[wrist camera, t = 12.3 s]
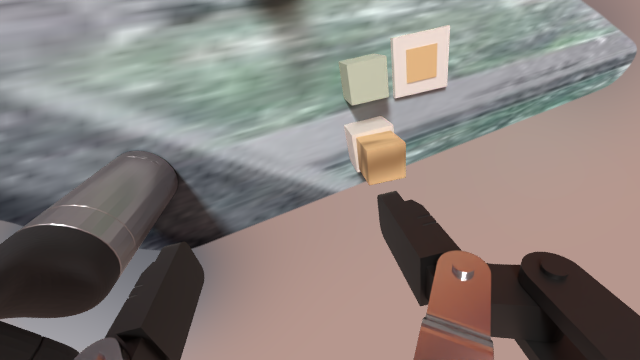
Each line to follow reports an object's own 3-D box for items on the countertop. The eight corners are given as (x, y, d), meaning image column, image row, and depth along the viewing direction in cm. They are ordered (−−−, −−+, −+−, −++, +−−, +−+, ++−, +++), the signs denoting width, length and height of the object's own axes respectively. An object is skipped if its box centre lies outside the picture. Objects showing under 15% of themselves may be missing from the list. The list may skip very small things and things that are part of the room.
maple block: (391, 162, 39) (405, 177, 35) (359, 168, 39) (369, 185, 35) (390, 130, 37) (405, 142, 32) (356, 137, 36) (366, 150, 32)
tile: (443, 85, 40) (447, 86, 39) (393, 97, 39) (395, 98, 39) (446, 25, 36) (450, 25, 35) (390, 38, 36) (393, 38, 35)
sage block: (376, 90, 39) (388, 96, 34) (343, 97, 39) (352, 105, 34) (373, 53, 36) (386, 55, 32) (338, 61, 36) (346, 64, 32)
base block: (384, 150, 44) (396, 162, 39) (349, 158, 44) (357, 172, 39) (380, 115, 41) (393, 124, 36) (343, 124, 41) (351, 135, 36)
